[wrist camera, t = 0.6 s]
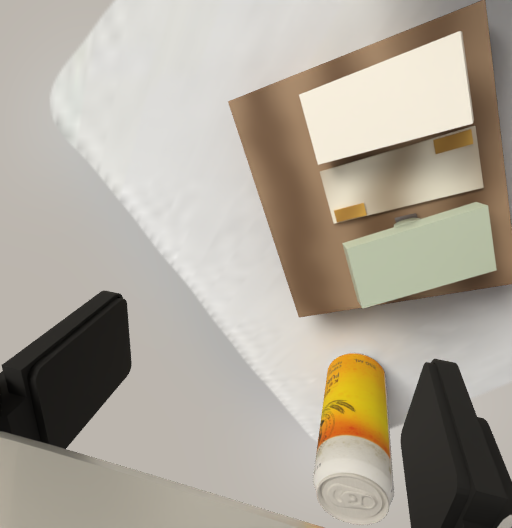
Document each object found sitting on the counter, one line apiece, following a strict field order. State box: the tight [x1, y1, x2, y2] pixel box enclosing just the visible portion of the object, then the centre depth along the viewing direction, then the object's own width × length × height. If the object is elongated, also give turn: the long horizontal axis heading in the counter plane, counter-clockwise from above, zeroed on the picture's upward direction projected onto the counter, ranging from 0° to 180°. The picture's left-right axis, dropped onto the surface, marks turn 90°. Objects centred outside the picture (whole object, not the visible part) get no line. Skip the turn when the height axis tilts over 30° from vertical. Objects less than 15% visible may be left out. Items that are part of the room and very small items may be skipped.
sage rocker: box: [342, 202, 497, 309], centre depth 28 cm, size 10×5×2 cm, turn 109°
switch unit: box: [228, 0, 512, 317], centre depth 31 cm, size 18×20×5 cm
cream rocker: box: [299, 31, 474, 165], centre depth 25 cm, size 10×5×2 cm, turn 108°
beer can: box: [313, 353, 394, 525], centre depth 35 cm, size 6×6×15 cm
